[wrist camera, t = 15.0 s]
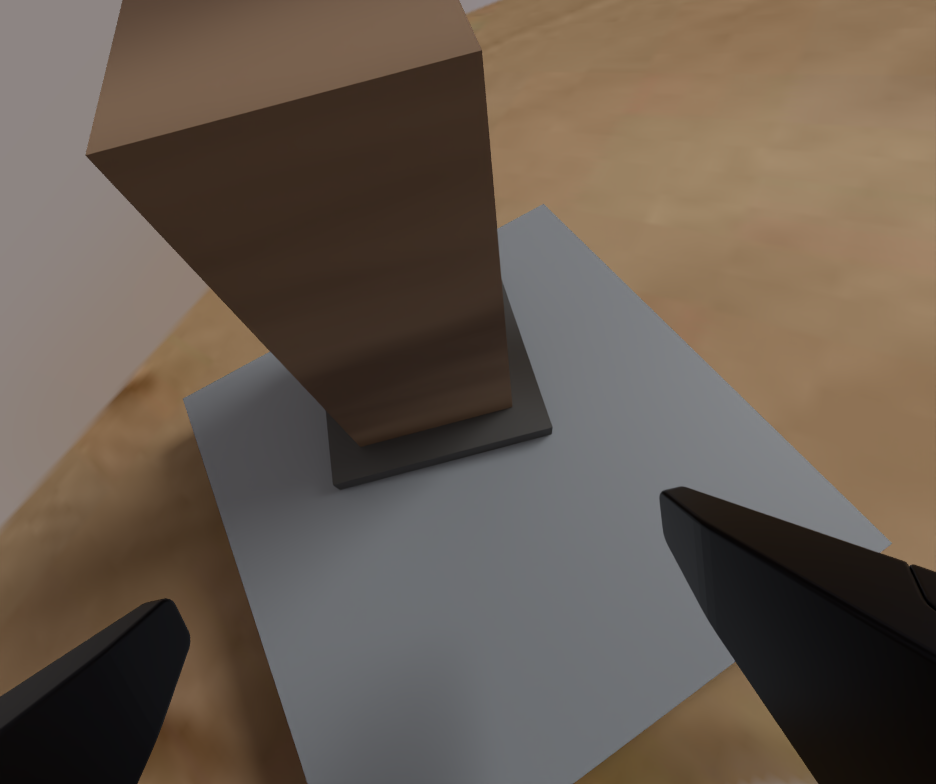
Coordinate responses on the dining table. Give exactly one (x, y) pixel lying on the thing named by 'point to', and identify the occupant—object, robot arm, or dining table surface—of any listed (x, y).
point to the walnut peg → (333, 208)
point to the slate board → (499, 545)
